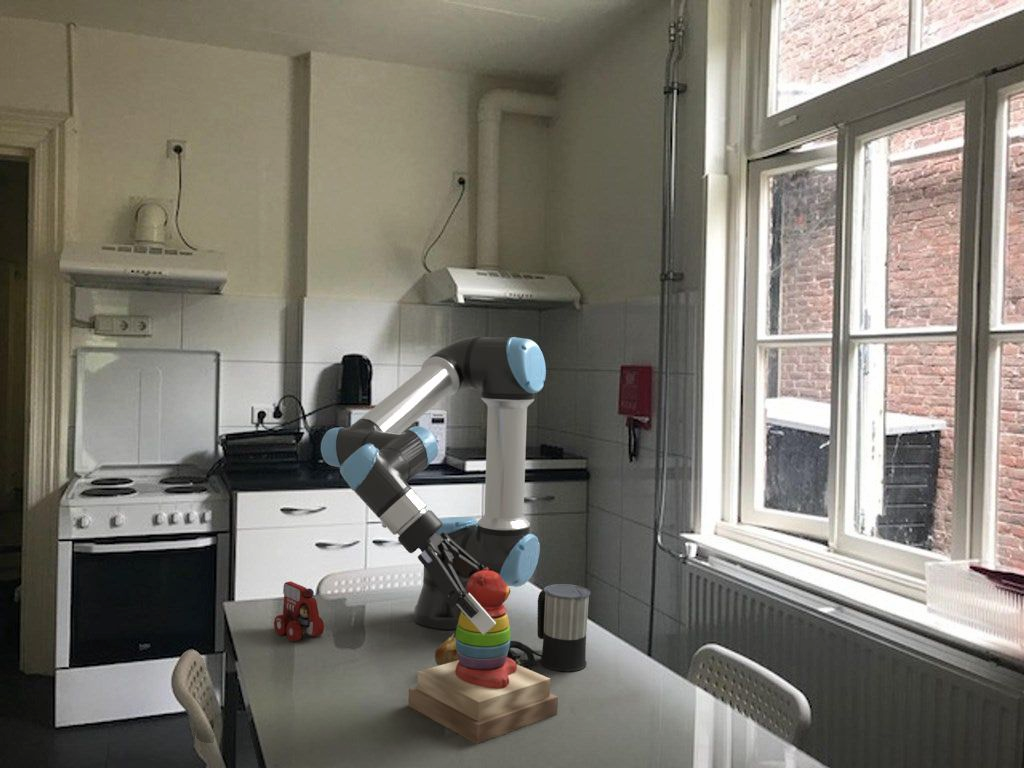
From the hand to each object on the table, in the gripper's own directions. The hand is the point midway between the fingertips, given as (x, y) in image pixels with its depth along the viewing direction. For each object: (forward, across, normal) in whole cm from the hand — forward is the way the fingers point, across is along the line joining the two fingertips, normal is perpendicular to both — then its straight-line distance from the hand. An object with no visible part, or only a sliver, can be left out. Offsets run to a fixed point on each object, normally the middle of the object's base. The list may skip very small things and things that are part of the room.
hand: (495, 616), depth 141 cm
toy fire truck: (-20, -29, -44) cm, 56 cm away
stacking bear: (+6, 0, -8) cm, 11 cm away
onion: (+5, -16, -18) cm, 25 cm away
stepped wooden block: (+10, 0, -13) cm, 16 cm away
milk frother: (+17, -24, -7) cm, 30 cm away
